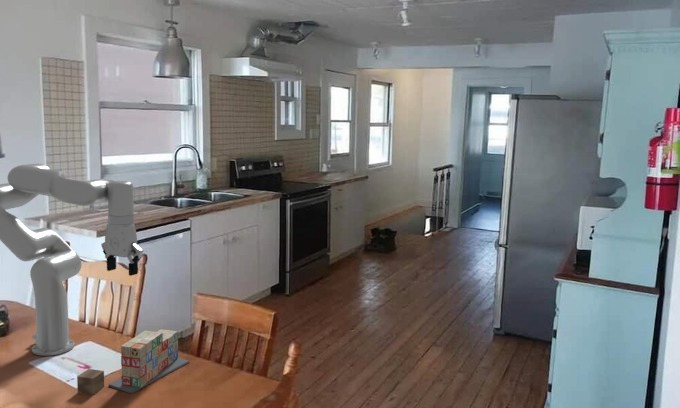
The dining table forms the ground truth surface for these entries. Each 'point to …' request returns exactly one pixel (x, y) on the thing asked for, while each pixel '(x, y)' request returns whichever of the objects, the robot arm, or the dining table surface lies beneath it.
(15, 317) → the dining table surface
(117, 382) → the mat
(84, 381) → the walnut cube
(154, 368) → the stack of blocks
